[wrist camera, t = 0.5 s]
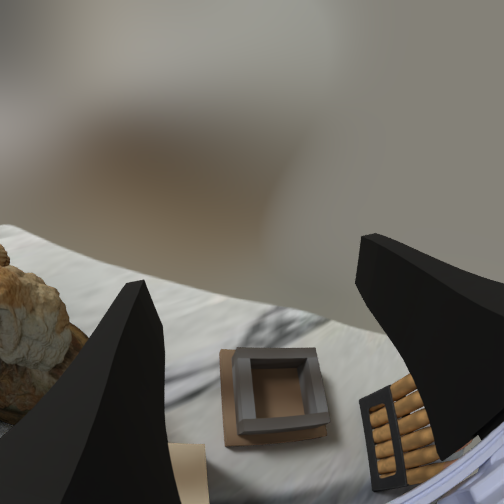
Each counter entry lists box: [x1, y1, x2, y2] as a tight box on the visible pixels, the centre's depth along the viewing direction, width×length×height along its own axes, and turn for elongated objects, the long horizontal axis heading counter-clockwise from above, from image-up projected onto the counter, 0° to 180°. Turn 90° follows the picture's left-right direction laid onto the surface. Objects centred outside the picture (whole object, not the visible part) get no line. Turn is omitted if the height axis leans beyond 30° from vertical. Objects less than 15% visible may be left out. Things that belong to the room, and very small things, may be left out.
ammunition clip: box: [359, 374, 473, 492], centre depth 18 cm, size 11×2×12 cm, turn 3°
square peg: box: [168, 443, 209, 504], centre depth 14 cm, size 4×4×8 cm
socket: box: [219, 347, 330, 447], centre depth 23 cm, size 9×9×4 cm
